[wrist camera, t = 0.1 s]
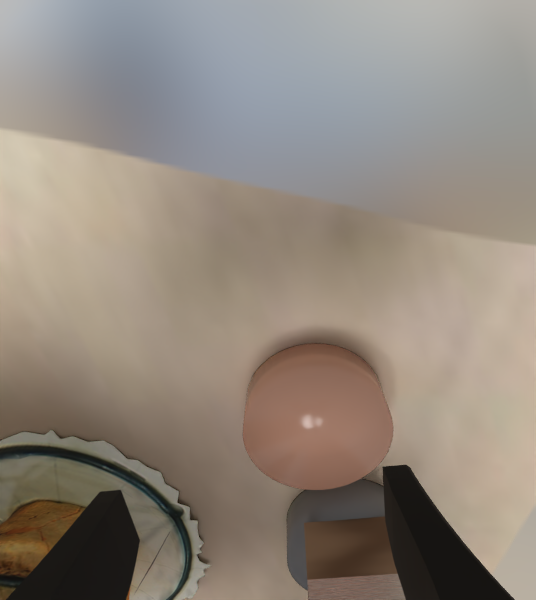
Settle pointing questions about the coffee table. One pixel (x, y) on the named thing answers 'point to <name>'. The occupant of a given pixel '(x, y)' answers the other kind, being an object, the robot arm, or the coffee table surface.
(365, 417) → the stand
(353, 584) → the housing
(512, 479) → the coffee table surface
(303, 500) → the stand
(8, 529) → the decorative vase
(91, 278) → the coffee table surface
